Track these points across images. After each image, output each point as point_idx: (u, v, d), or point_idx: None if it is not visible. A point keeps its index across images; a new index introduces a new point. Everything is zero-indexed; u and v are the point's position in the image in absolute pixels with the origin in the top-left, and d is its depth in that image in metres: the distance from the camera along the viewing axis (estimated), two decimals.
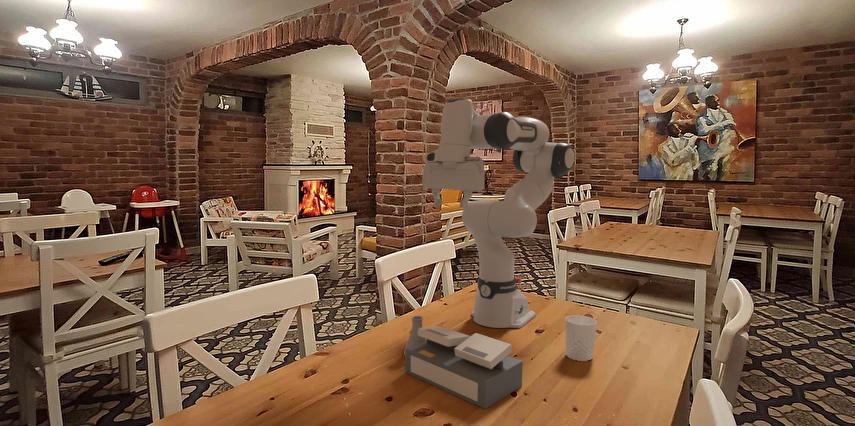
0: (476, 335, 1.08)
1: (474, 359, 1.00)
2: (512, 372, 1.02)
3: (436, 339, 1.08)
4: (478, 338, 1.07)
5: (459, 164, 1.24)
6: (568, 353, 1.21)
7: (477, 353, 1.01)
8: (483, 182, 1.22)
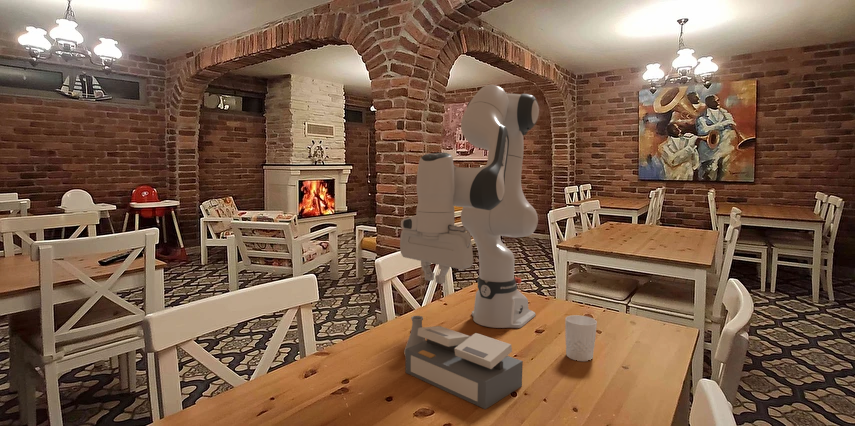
0: (476, 335, 1.08)
1: (474, 359, 1.00)
2: (512, 372, 1.02)
3: (436, 339, 1.08)
4: (478, 338, 1.07)
5: (441, 235, 1.03)
6: (568, 353, 1.21)
7: (477, 353, 1.01)
8: (471, 257, 1.01)
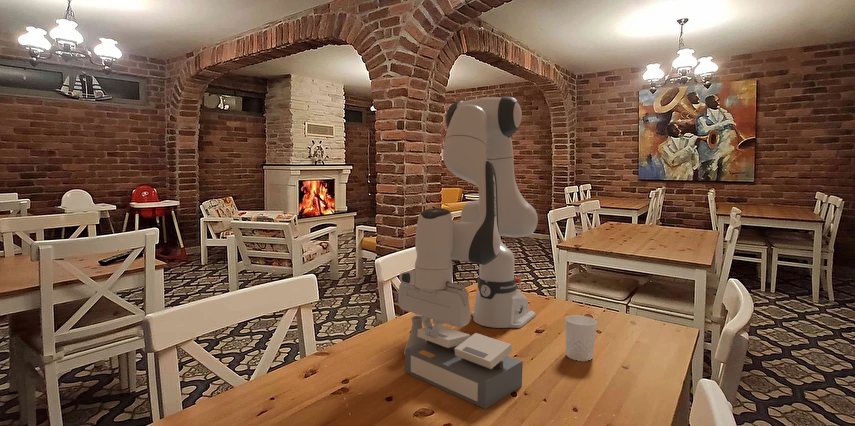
0: (476, 335, 1.08)
1: (474, 359, 1.00)
2: (512, 372, 1.02)
3: (436, 340, 1.08)
4: (478, 338, 1.07)
5: (439, 292, 1.04)
6: (568, 353, 1.21)
7: (477, 353, 1.01)
8: (468, 315, 1.02)
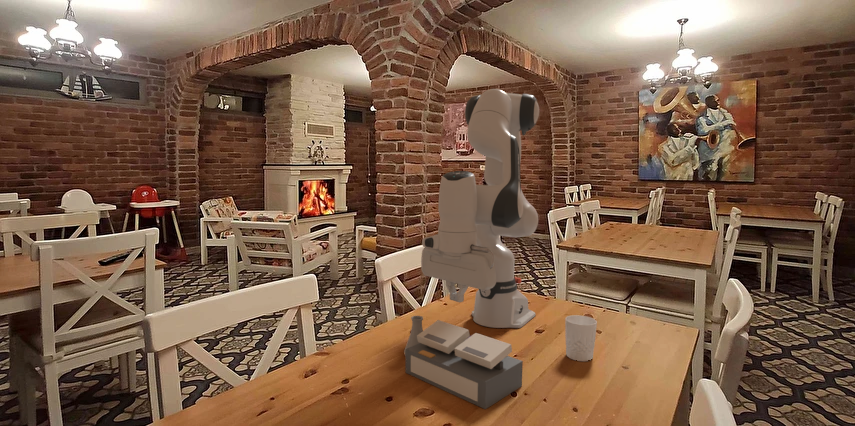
0: (476, 335, 1.08)
1: (474, 359, 1.00)
2: (512, 372, 1.02)
3: (436, 347, 1.08)
4: (478, 338, 1.07)
5: (464, 255, 1.02)
6: (568, 353, 1.21)
7: (477, 353, 1.01)
8: (494, 278, 1.00)
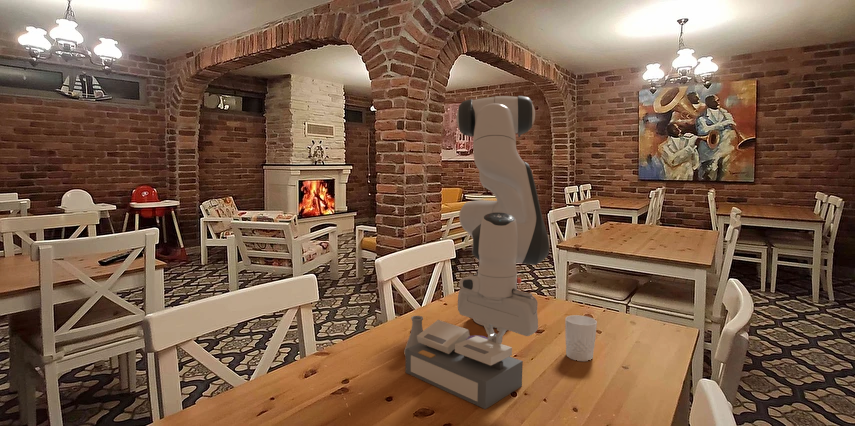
0: (477, 337, 1.09)
1: (474, 355, 1.00)
2: (512, 372, 1.02)
3: (436, 347, 1.08)
4: (478, 339, 1.07)
5: (505, 300, 1.01)
6: (568, 353, 1.21)
7: (478, 350, 1.01)
8: (536, 323, 1.00)
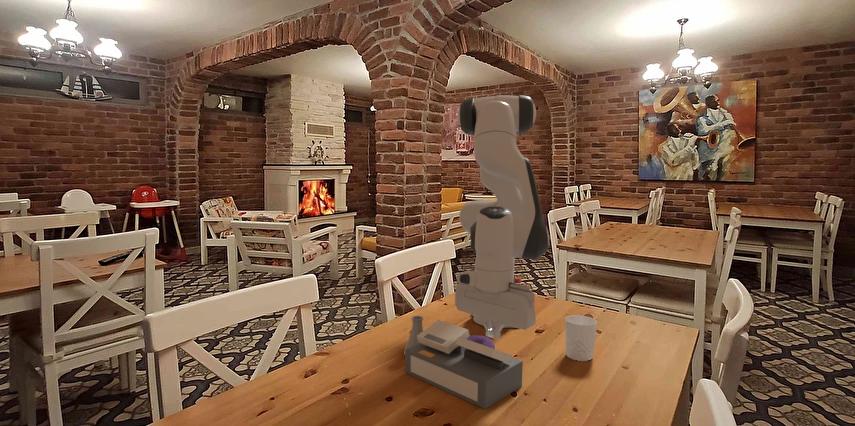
0: None
1: (476, 347, 1.01)
2: (512, 372, 1.02)
3: (436, 347, 1.08)
4: None
5: (502, 293, 1.01)
6: (568, 353, 1.21)
7: (480, 344, 1.01)
8: (534, 316, 0.99)
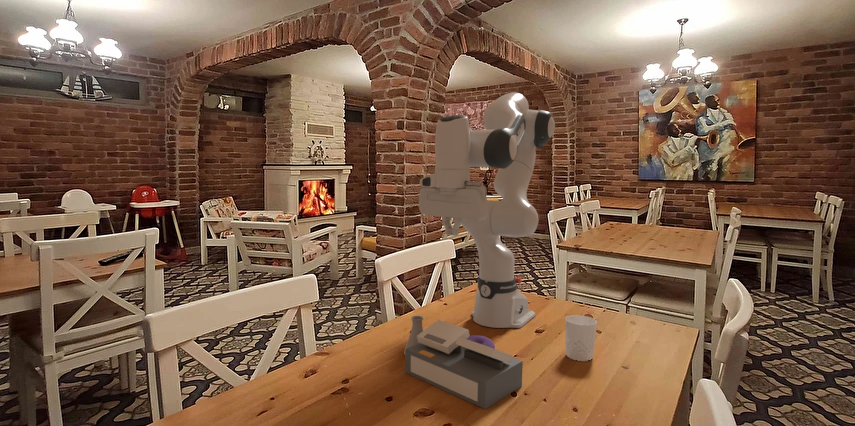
0: None
1: (476, 347, 1.01)
2: (512, 372, 1.02)
3: (436, 347, 1.08)
4: None
5: (458, 190, 1.12)
6: (568, 353, 1.21)
7: (480, 344, 1.01)
8: (486, 210, 1.10)
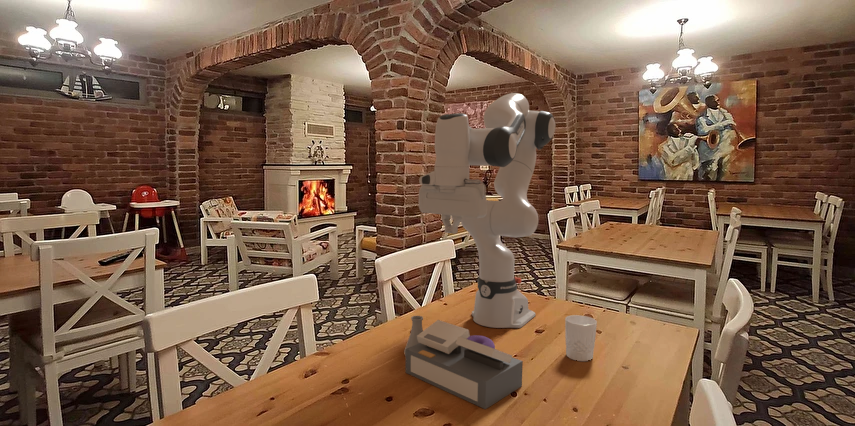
0: None
1: (476, 347, 1.01)
2: (512, 372, 1.02)
3: (436, 347, 1.08)
4: None
5: (458, 188, 1.12)
6: (568, 353, 1.21)
7: (480, 344, 1.01)
8: (485, 207, 1.10)
